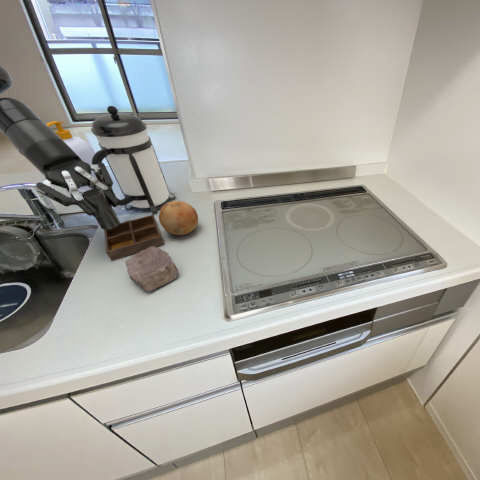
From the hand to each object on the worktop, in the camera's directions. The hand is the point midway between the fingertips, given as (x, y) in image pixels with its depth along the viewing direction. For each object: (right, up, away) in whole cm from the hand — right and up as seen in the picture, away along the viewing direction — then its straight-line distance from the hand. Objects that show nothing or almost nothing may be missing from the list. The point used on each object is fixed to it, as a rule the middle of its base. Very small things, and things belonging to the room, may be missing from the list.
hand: (106, 209), depth 60 cm
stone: (+9, -16, +3) cm, 18 cm away
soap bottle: (-31, +11, +32) cm, 46 cm away
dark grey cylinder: (-2, -3, +4) cm, 5 cm away
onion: (+10, -5, +16) cm, 20 cm away
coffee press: (-7, +4, +26) cm, 27 cm away
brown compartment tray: (-2, -7, +12) cm, 14 cm away
